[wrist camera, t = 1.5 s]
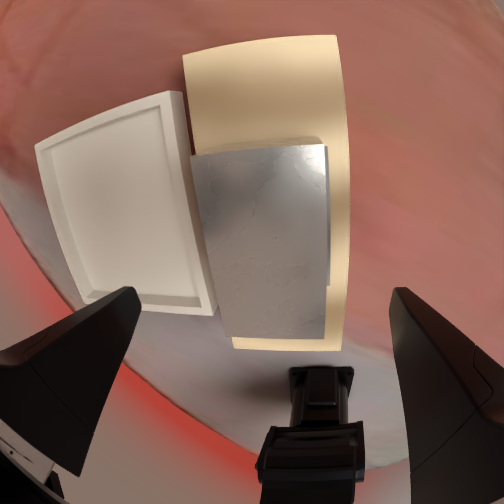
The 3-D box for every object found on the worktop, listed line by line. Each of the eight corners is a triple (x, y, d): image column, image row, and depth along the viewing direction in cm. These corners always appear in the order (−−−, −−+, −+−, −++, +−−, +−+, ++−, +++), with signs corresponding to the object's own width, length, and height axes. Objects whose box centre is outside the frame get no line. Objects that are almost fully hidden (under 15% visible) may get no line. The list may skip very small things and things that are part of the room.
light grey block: (323, 292, 16) (324, 339, 13) (242, 292, 18) (226, 336, 14) (318, 137, 12) (323, 144, 9) (219, 145, 14) (189, 156, 10)
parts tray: (219, 301, 24) (213, 315, 22) (94, 293, 27) (84, 303, 25) (182, 91, 16) (169, 90, 15) (49, 140, 20) (34, 145, 18)
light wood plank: (337, 316, 22) (340, 353, 19) (244, 315, 24) (233, 350, 20) (329, 52, 13) (336, 33, 10) (207, 65, 15) (180, 54, 11)
